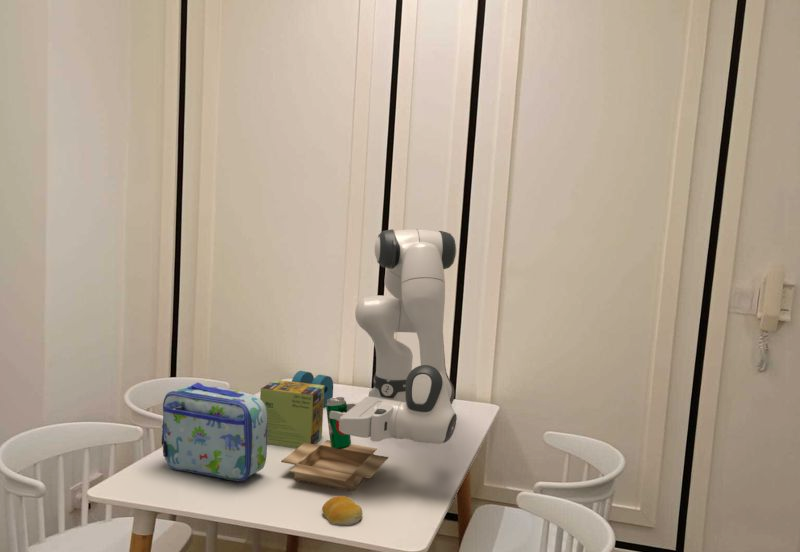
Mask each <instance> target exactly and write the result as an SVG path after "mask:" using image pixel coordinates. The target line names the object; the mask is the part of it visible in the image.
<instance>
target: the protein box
mask: <svg viewBox="0 0 800 552" xmlns="http://www.w3.org/2000/svg"><path fill="white" fill-rule="evenodd" d="M259 399H261V400H262V401H263V403H264V405H265V407H266V411H267V445H272V446H279V447H288V448H292V447H293V448H292V449H297V448H298V447H300V446H301V445H302V444H304V443H310V444H315V445H317V444H318V442H319V441H320V440H321V439H322V438H323V421H324V419H323V418H324V416H323V415H324V408H323V402H324V385H316V384H308V383H300V382H292V381H290V380H280V379H274V380H272V381H271V382H269V383H268V384H266V385H264V386H263V387H262V388H260V397H259Z"/></svg>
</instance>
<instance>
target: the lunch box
mask: <svg viewBox="0 0 800 552" xmlns="http://www.w3.org/2000/svg"><path fill="white" fill-rule="evenodd" d="M162 411H163V413H162V414H163V416H162V425H161V428H162V430H161V433H162V434H161V445H162V456H163V457H164V459H165V462H166V464H167V466H168V467H169V468H170V469H171V470H173V471H182V472H183V471H184V472H189V473H194V474H200V475H203V476H204V475H205V476H210V477H214V478H219V479H224V480H228V481H232V482H234V481H235V482H244V481H246V480H247V479H248V478H249V477H250V476H252V475H254V474H256V473H257V472H260V471H261V470H263V469H264V467H265V465H266V462H267V461H266V460H267V454H268V453H267V450H268V444H267V411H266V407H265V405H264V403H263V401H262V400H261V399H260V397H258V396H256V395H254V394H251V393H248V392H243V391H240V390H233V389H230V388H223V387H218V386H209V385H205V384H204V385H203V384H202V383H200V382H196V383H193V384H189V385H186V386H184V387H183V388H180V389H176V390H174V391H172V390H171V391H169V392H167V393H166V394H165V396H164V398H163V402H162Z"/></svg>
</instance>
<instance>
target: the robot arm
mask: <svg viewBox="0 0 800 552" xmlns="http://www.w3.org/2000/svg"><path fill="white" fill-rule="evenodd" d="M374 256H375V259H376V262H377V264H378V265H380V266H381V267H382V268H385V275H384V281H383V282H384V286H385V289H386V290H387V291H388V292H389V293H390V295H378V294H376V295H371V296H370V295H368V296H364V297H362V298H361V299H360V300H359V301H358V303H357V304H356V307H355V313H354V314H355V320H356V322H357V325H358V326H359V327H360V328H361V329H362V330H363V331H365V332H366V333H367V335H369V337H370V338H371V341H372V343H373V345H374V348H375V357H376V359H375V360H376V361H375V363H376V364H375V374H374V375H373V388H371V389H370V390H369V391H368V394H367V395H368V396H365V397H364V398H363V399H361V400H360V401H359V402H352V403H350V402H349V403H347V402H346V404H347V412H346V413H345V412H343V413H341V412H338V410H332V411H330V413H329V417H330V418H331V419H336V420H338V421H339V431H340V432H342V433H344V434H348V435H350V436H351V437H352V436H353V437H358V438H363V439H365V438H366V439H368V438H370V441H372V442H376V443H377V442H381V441H383V440H386V439H387V440H388V439H396V440H402V439H408V440H411V441H413V442H415V443H421V444H423V443H424V444H429V445H430V444H433V445H438V444H444V443H446V442H448V441H449V440H450V439H451V438H452V436H453V434H454V432H455V429H456V426H457V419H458V418H457V414H456V412H455V410H454V407H453V406H452V405H453V403H454V401H455V400H454V399H455V395H456V394H455V393H456V392H455V388H454V385H453V383H452V381H451V379H450V377H449V375H448V373H447V369H446V358H445V357H446V356H445V355H446V354H445V344H444V343H445V342H444V322H445V321H444V318H445V303H446V301H445V300H446V279H445V271H444V270H447V269H449V268H451V267H452V266H453V264H454V262H455V260H456V256H457V244H456V241H455V237H454V236H453V234H452V233H450V232H446V231H443V230H438V231H437V230H430V229H424V228H423V229H421V228H416V229H397V230H396V229H393V228H392V229H387V230H382V231H380V232H379V234H378V235H377V239H376V240H375V244H374ZM396 333H416V335H417V338H418V345H419V357H420V365H418V366H416V367H414V368H413V355H414V354H413V352H412V350H411V348H409V346H407V345H406V344H404V343H402V342H400V341H399V340H397V339H396V337H395V334H396Z"/></svg>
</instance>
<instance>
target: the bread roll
mask: <svg viewBox="0 0 800 552" xmlns="http://www.w3.org/2000/svg"><path fill="white" fill-rule="evenodd" d="M321 509H322V514H323V516H324V518H326V519H327V520H328V522H329V523H330V524H333V525H337V526H350V525H355V524H357V523H359V521H361V519H362V517H363V509H362V507H361V506H360V505H359V504H357V503H356V502H355V501H354V500H353V499H352V498H351V497H348V496H344V495H337V496H333V497H331V498H330V499H328V500H327V501H326V502H325V503H324V504H323V506H322V508H321Z"/></svg>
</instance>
